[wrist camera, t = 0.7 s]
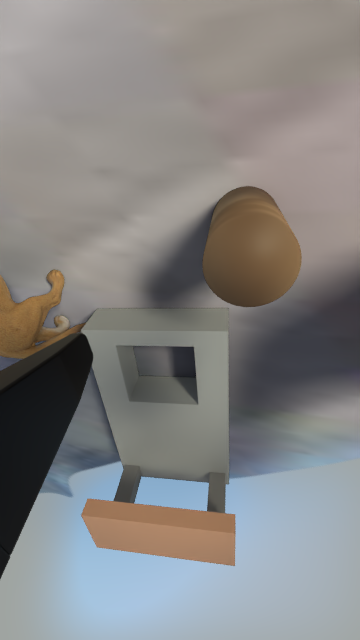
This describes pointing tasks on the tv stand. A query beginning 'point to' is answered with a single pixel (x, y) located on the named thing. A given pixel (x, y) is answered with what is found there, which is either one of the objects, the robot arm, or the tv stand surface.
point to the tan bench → (163, 524)
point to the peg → (250, 249)
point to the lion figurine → (31, 320)
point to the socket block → (165, 390)
